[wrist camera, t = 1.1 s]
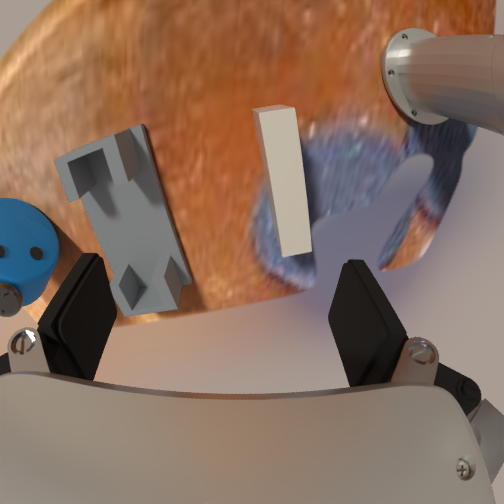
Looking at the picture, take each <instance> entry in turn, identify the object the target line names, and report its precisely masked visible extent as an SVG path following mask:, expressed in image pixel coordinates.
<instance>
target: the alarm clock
mask: <svg viewBox="0 0 504 504" xmlns="http://www.w3.org/2000/svg"><path fill="white" fill-rule="evenodd" d="M59 251H60V249H59V240H58V237H57V234H56V231H55V229H54V227H53V226H52V224H51V223H50V221H49V220H48V219H47V218H46V217H45V216H44V215H43V214H42V213H41V212H40V211H39V210H38V209H36V208H35V207H33V206H32V205H30V204H28V203H26V202H23V201H20V200H17V199H12V198H0V316H2V317H11V316H14V315H15V314H17V313H18V312H19V311H20V309H21V307H23V306H26V305H29V304H31V303H33V302H34V301H35V300H37V299H38V298H39V297H40V296H41V295H42V293H43V292H44V290H45V288H46V286H47V284H48V281H49V279H50V277H51V274H52V272H53V270H54V268H55V266H56V264H57V261H58V257H59Z"/></svg>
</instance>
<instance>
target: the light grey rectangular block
mask: <svg viewBox="0 0 504 504" xmlns="http://www.w3.org/2000/svg"><path fill="white" fill-rule="evenodd" d="M252 111H253V116H254V121H255V126H256V132H257V137H258V143H259V148H260V153H261V159H262V165H263V170H264V176H265V182H266V187H267V193H268V199H269V205H270V211H271V217H272V223H273V228H274V231H275V234H276V238H277V241H278V244H279V247H280V251H281V254H282V257H287V256H292V255H297V254H302V253H307V252H312V247H311V235H310V224H309V214H308V204H307V195H306V186H305V178H304V169H303V162H302V154H301V147H300V140H299V133H298V126H297V119H296V113H295V108H294V107H289V106H284V105H275V106H268V107H262V108H256V109H252Z"/></svg>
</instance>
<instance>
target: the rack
mask: <svg viewBox="0 0 504 504" xmlns="http://www.w3.org/2000/svg"><path fill="white" fill-rule="evenodd" d="M54 162H55V165H56V168H57V171H58V174H59V177H60V180H61V182H62V185H63V188H64V191H65V193H66V196H67V199H68V201H69V202H72V201H74V200H77V199H80V198H81V200H82V203H83V205H84V208H85V210H86V213H87V215H88V218H89V220H90V223H91V225H92V227H93V230H94V232H95V234H96V237H97V239H98V241H99V244H100V246H101V248H102V250H103V252H104V254H105V257H106V259H107V261H108V263H109V265H110V267H111V269H112V271H113V273H114V276H113V278H112V280H111V282H110V288H111V291H112V295H113V297H114V299H115V301H116V303H117V304H118V306H119V308H120V310H121V311H122V313H123V315H124V317H127V316H134V315H141V314H148V313H155V312H162V311H169V310H175V309H178V306H179V301H180V295H181V290H182V286H184V285H190V284H192V277H191V274H190V272H189V269H188V266H187V263H186V260H185V258H184V255H183V252H182V249H181V246H180V243H179V240H178V237H177V234H176V231H175V228H174V225H173V222H172V219H171V216H170V213H169V210H168V207H167V204H166V201H165V197H164V194H163V191H162V188H161V184H160V181H159V178H158V174H157V171H156V168H155V164H154V161H153V157H152V154H151V150H150V146H149V143H148V139H147V135H146V132H145V128H144V124H141V125H138V126H135V127H132V128H129V129H126V130H123V131H120V132H118V133H115V134H112V135H110V136H107V137H104V138H102V139H99V140H97V141H94V142H92V143H89V144H87V145H85V146H82V147H80V148H78V149H75V150H73V151H71V152H69V153H67V154H65V155H63V156H61V157H59V158H57V159H55V160H54Z"/></svg>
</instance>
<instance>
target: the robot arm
mask: <svg viewBox="0 0 504 504" xmlns="http://www.w3.org/2000/svg"><path fill="white" fill-rule="evenodd" d="M381 68H382V77H383V80H384V84H385V87H386V89H387V92H388V94H389V96H390V98H391V99H392V101H393V103H394V104H395V105H396V106H397V108H398V109H399V110H400V111H401V112H402V113H403V114H404V115H406V116H407V117H408V118H410V119H412V120H413V121H416V122H419V123H422V124H427V125H436V124H440V123H443V122H444V121H446V120H448V119H449V118H451V119H455V120H458V121H462V122H465V123H469V124H472V125H475V126H478V127H482V128H484V129H488V130H490V131H493V132H496V133H499V134H502V135H504V35H457V36H444V37H437V36H436V35H434V34H432V33H431V32H429V31H426V30H423V29H418V28H410V29H405V30H402V31H399V32H397V33H396V34H394V35H393V36H392V37H391V38H390V39H389V40H388V42H387V43H386V45H385V47H384V50H383V54H382V62H381ZM388 72H389V74H388ZM116 316H117V308H116V305H115V302H114V298H113V295H112V291H111V288H110V284H109V280H108V277H107V273H106V269H105V265H104V261H103V258H102V257H99V255H98V254H97V253H84V254H83V255H82V256H81V257H80V259H79V260H78V262H77V263H76V264H75V266H74V267H73V269H72V270H71V271H70V273H69V274H68V276H67V277H66V279H65V280H64V282H63V283H62V285H61V286H60V288H59V289H58V291H57V292H56V294H55V295H54V297H53V299H52V300H51V302H50V303H49V305H48V307H47V308H46V310H45V311H44V313H43V315H42V316H41V318H40V320H39V322H38V325H39V327H38V329H37V330H35V329H33V328H23V329H20V330H18V331H17V332H15V333H14V334H13V335H12V337H11V338H10V340H9V342H8V352H7V353H5V354H4V355H2V356H0V504H496V503H495V499H494V494H493V489H492V486H491V484H492V483H493V481H494V479H495V477H496V475H497V474H498V472H499V470H500V468H501V466H502V464H503V462H504V415H502V413H500V412H499V411H498V410H497V409H496V408H495V407H494V406H493V405H492V404H491V403H490V402H489V401H487V400H486V399H484V400H483V401H482V400H481V391H480V389H479V387H478V385H477V384H476V383H475V382H474V381H473V380H472V379H470V378H468V377H466V376H464V375H462V374H460V373H458V372H456V371H455V370H453V369H451V368H449V367H447V366H445V365H443V364H441V363H439V354H438V350H437V349H436V347H435V346H434V345H433V344H432V343H431V342H430V341H428V340H426V339H424V338H420V337H414V338H410V339H409V338H408V336H407V335H406V333H407V332H406V330H405V329H404V327H403V325H402V323H401V322H400V320H399V318H398V316H397V314H396V313H395V311H394V309H393V308H392V306H391V304H390V302H389V301H388V299H387V297H386V295H385V294H384V292H383V290H382V289H381V287H380V286H379V284H378V282H377V281H376V279H375V278H374V276H373V274H372V273H371V271H370V269H369V268H368V266H367V265H366V263H365V262H364V260H351V259H350V260H348V262H347V263H344V265H343V267H342V270H341V274H340V277H339V281H338V285H337V288H336V291H335V295H334V298H333V301H332V304H331V308H330V311H329V315H328V319H329V324H330V327H331V330H332V333H333V336H334V339H335V342H336V345H337V348H338V350H339V354H340V357H341V360H342V363H343V366H344V369H345V373H346V376H347V379H348V382H349V385H350V387H348V388H339V389H329V390H319V391H307V392H292V393H271V394H212V393H211V394H210V393H191V392H176V391H164V390H153V389H144V388H136V387H129V386H122V385H114V384H109V383H103V382H96V381H93V380H94V377H95V374H96V371H97V368H98V365H99V362H100V359H101V356H102V353H103V351H104V348H105V345H106V342H107V340H108V337H109V334H110V332H111V329H112V327H113V324H114V322H115V319H116Z"/></svg>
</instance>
